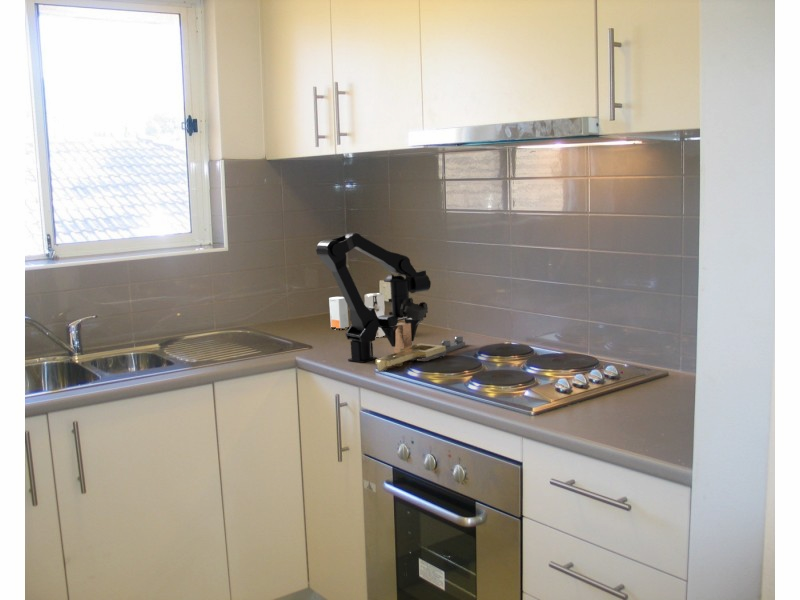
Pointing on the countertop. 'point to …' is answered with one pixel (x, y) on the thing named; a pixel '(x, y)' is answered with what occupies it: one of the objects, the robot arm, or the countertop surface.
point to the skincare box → (338, 312)
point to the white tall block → (376, 307)
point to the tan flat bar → (419, 352)
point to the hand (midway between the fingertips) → (402, 343)
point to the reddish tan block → (403, 336)
